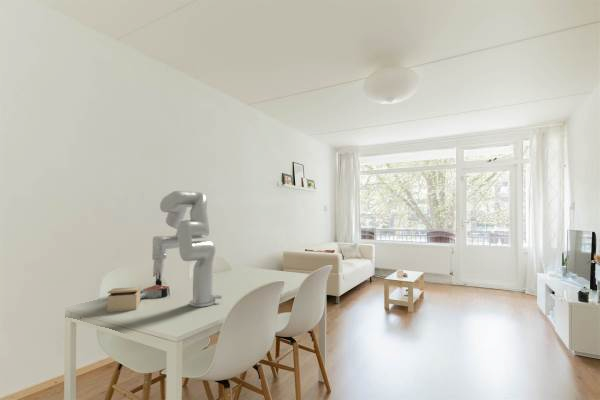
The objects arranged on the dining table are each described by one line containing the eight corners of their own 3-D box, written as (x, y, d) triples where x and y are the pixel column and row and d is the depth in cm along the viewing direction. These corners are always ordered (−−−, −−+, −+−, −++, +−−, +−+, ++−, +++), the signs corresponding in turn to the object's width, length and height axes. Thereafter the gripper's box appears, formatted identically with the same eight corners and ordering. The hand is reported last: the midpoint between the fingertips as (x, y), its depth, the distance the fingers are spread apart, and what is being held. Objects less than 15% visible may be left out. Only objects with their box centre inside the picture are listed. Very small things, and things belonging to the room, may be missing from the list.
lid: (140, 288, 163) (140, 286, 163) (136, 291, 151) (136, 289, 151) (113, 290, 159) (114, 288, 159) (107, 293, 147) (107, 291, 147)
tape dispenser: (126, 306, 162) (169, 300, 168) (126, 296, 162) (168, 290, 168) (133, 296, 179) (171, 291, 185) (132, 286, 179) (171, 282, 185)
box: (140, 302, 162) (140, 288, 162) (136, 309, 151) (136, 294, 151) (113, 304, 158) (113, 290, 159) (107, 311, 147) (107, 296, 147)
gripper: (153, 255, 197) (153, 285, 196) (150, 258, 183) (149, 291, 182) (167, 254, 199) (166, 284, 198) (165, 258, 185) (164, 290, 184)
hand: (158, 287), depth 190 cm, fingers closed
